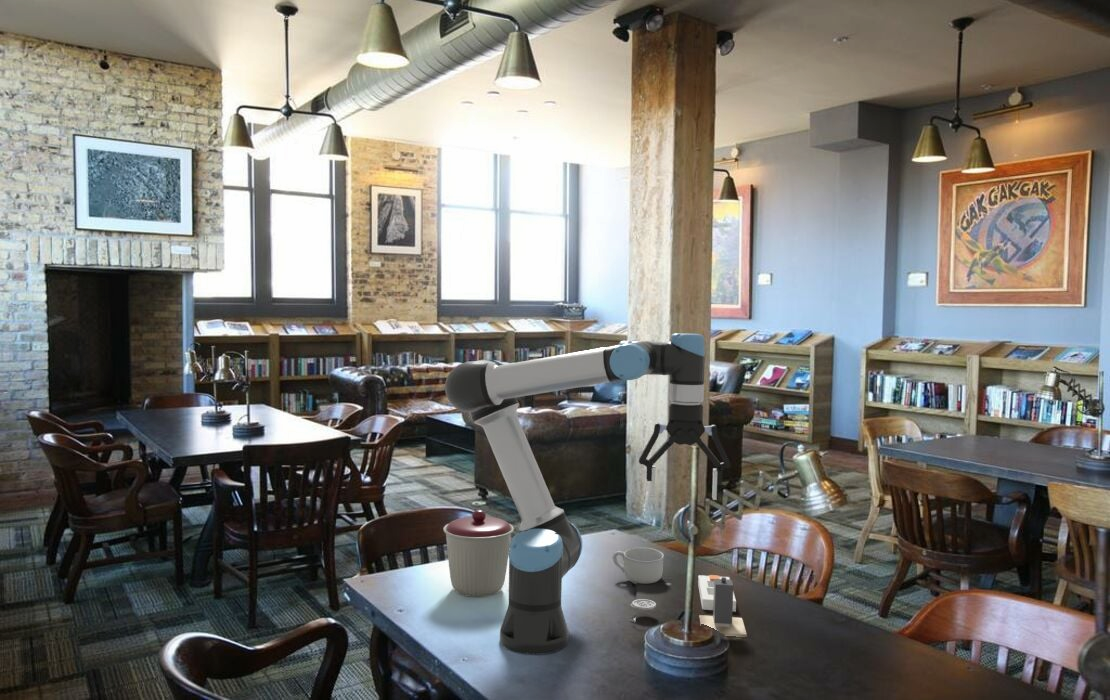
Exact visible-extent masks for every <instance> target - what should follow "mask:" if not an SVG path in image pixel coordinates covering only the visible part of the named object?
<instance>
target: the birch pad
mask: <svg viewBox="0 0 1110 700" xmlns="http://www.w3.org/2000/svg"><path fill="white" fill-rule="evenodd" d="M698 616H699V623H700V625H701V624H704V625H707V626H709V627H711V628H714V629H715V630H717V631H719V632H720V633H722V634H724V635H725V636H736V637H747V638H748V635H747V631H746V627H745V624H744V623H745V622H744V620H743V618H742V617H734V616H732V624H730V625H729V627H720V626H716V623H714V619H713V615H707V614H706V615H705V614H704V615H702V614H699V615H698Z"/></svg>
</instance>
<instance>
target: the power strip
mask: <svg viewBox="0 0 1110 700" xmlns="http://www.w3.org/2000/svg"><path fill="white" fill-rule="evenodd" d="M697 577H698V578H697V579H698V580H697V585H698V590H699V597H700V602H701V603H700V604H701V609H702V610H705V611H707V610H708V611H713V600H714V579H722V577H723V576H720V575H718V574H717V575H715V574H709V575H703V574H701V575H700V574H699V575H698V576H697ZM724 577H725V578H726V579H728V580H731V578H730V576H724ZM733 612H735V613H736V612H737V600H736V596H735V592H734V591H733Z"/></svg>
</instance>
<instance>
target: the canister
mask: <svg viewBox="0 0 1110 700" xmlns="http://www.w3.org/2000/svg"><path fill="white" fill-rule="evenodd" d="M442 529H443V533H444V534H445V539H446V549H447V558H448V568H449V576H450V583H451V586H452V588H453V590H454V591H455V592H456V593H458V594H460V595H462V596H464V597H465V596H466V597H472V598H473V597H474V598H482V597H488V596H492V595H495V594H497V593H499V592H500V591H501V590H502V588H503V586H505V585H504V584H505V581H506V575H507V568H508V563H509V549H510V542H511V539H512V538H511V537H512V533H513V532H514V530H515V528H514V526H513V525H512V524H511V523H509V522H508V521H506V520H505V519H502V518H498V517H492V516H487V513H486V511H484V510H482V509H475V510H474V511H473V512H472V514H471V516H466V517H460V518H457V519H456V518H455V519H454V520H452V521H451V522H449V523H447V524H445V525H444V526H443V528H442Z"/></svg>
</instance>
